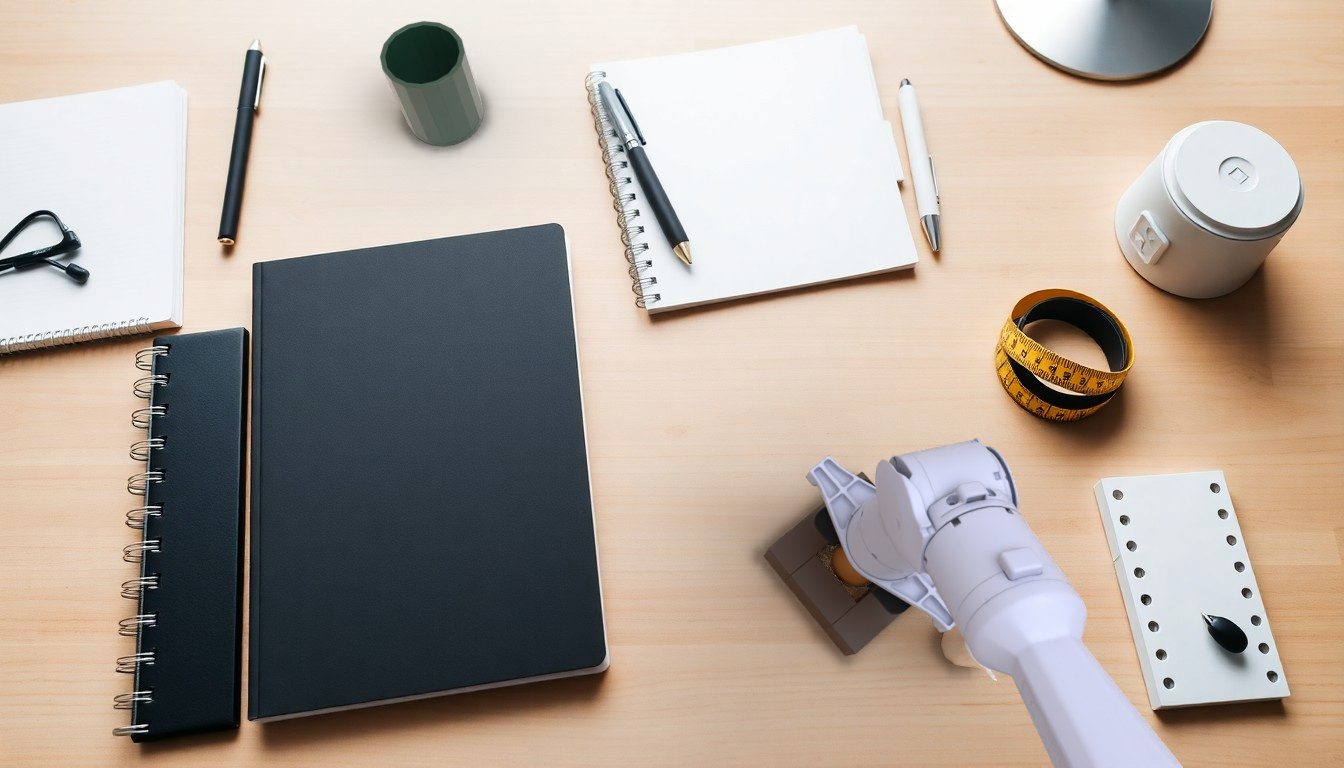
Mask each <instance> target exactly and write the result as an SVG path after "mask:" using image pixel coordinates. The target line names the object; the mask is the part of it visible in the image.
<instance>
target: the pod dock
mask: <svg viewBox="0 0 1344 768" xmlns="http://www.w3.org/2000/svg"><path fill="white" fill-rule="evenodd" d="M856 476H857V477H859V478H861V479H866V480H869V481H871V482H872V480H871V479H870V478H869V477H868V476H867V475H866V474H865V473H864V471H860V472H859V473H857V474H856ZM825 506H826V505H825V502H824V501H823V503H821V504H820V505H819V506H818V507H817V508H815V509H814V510H813V511H812V512H811V513H809V514H808V515H807V516H806V517H804V518H803V519H801V520H800V522H798V523H797V524H796V525H795V526H793V528H791V529H790V530H789V531H787V532H786V533H784V535H783V536H781V537H780V538H779V539H777V540H776V542H774V543H773V544H771V546H769V547H768V548H767V549H766V551H765V553H764V554H763V558H764V559H765V561H767V563H768V564H769V565H770V566H771V567H772V569H773V570H774V571H775V572H776V574H777V575H778V576H779V578H781V580H782V581H783V582H784V583H785V585H786V586H787V587H788V588H789V590H790V591H791V592H792V593H793V594H794V596H795V597H796V598H797V599H798V600H799V601H800V603H801V604H802V606H803V607H804V608H805V609H806V610H807V611H808V612H809V614H810V615H811V616H812V617H813V619H814V620H815V621H816V622H817V623H818V625H819V626H820V627H821V628H822V629H823V631H824V632H825V633H826V634H827V636H828V637H829V638H830V639H831V641H832V642H833V643H834V645H836V647H837V648H838V649H839V650H840V652H841V653H842V654H843V655H844V656H845V657H848V656H853V655H857V654H858V653H859V652H860V651H861V650H862V649H863V648H864V647H866V646H867V645H868V644H869V643H870V642H871V641H872V640H873V639H875V638H876V637H877V636H878V635H879V634H880V633H881V632H882V631H884V630H885V629H886V628H887V627H888V626H889V625H891V624H892V623H893V622H894V621H895V620H896V619H898V617H899V616H901V615H902V614H903V613H901V614H896V615H892V614H890V613H889V612H887V611H886V610H885V608H884V607H883V606H882V605H881V604H880V603H879V601H878V600H877V599H876V598H875V597H874V596H873V594H872V593H871V591H870V590H869V589H868V590H866V591H865V592H864V593H863V594H862V595H860V596H859V597H858V598H857V599H856V600H855V598H854V597H853V596H852V595H851V593H849V592H848V590H847V589H846V587H844V586H843V584H842V582H841V581H840V580H839V579H838V578H837V577H836V576H835V574H834V573H833V572H831V570H830V569H829V568H828V567H827V566H826V564H825V563H824V562H823V561H822V559H821V558H820V557H819V556H818V554H819V553H820V552H821V551H823V550H824V549H825V548H826V547H828V546H829V545H830V544H829V543H828V542H827V541H826V539H825V538H824V537H823V536H822V535H821V534H820V532H819V531H818V530H817V529H816V527H815V525H814V523H813V522H814V518H815V516H816V514H817V513H818V512H819V511H820V510H821V509H823V508H824V507H825Z"/></svg>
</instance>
